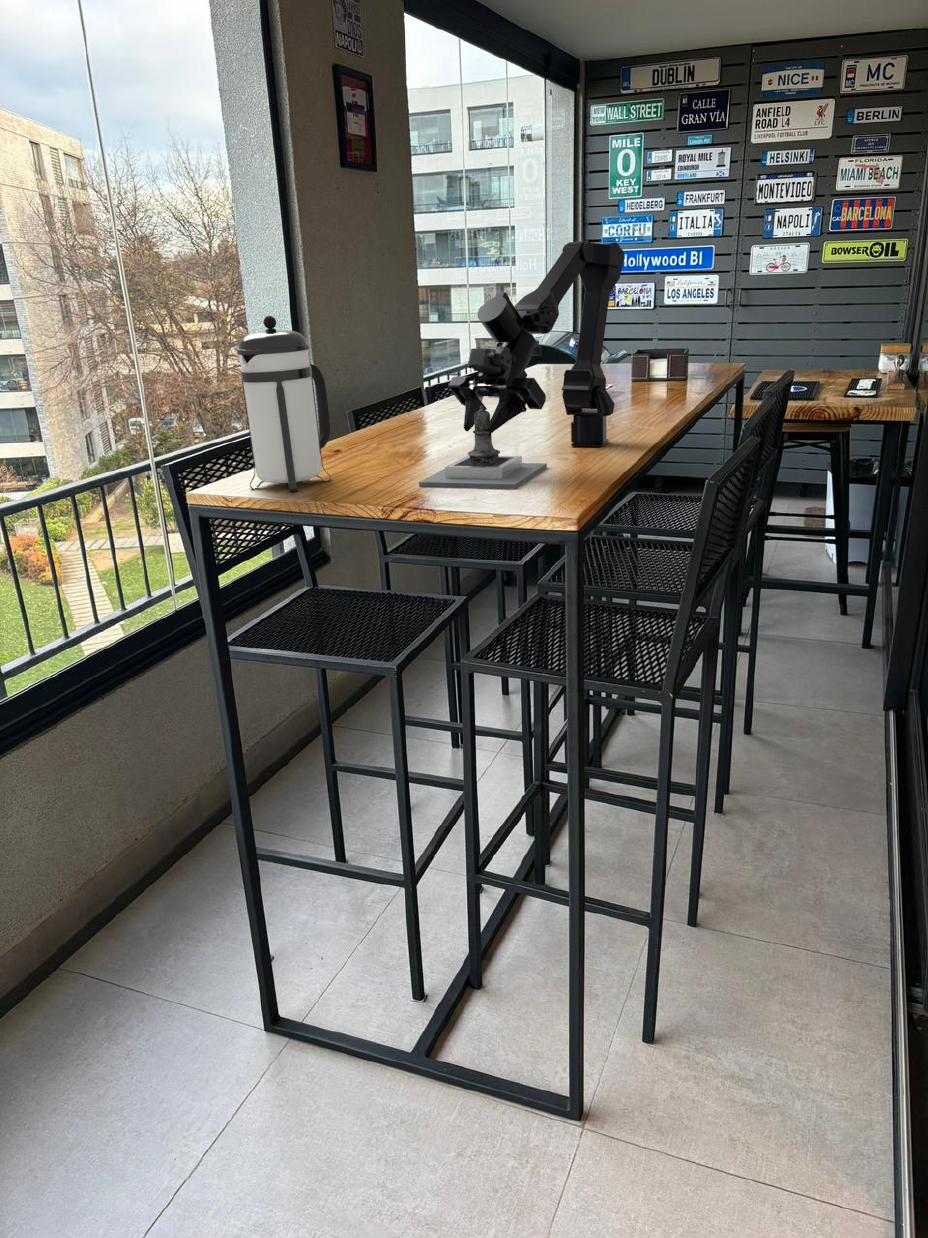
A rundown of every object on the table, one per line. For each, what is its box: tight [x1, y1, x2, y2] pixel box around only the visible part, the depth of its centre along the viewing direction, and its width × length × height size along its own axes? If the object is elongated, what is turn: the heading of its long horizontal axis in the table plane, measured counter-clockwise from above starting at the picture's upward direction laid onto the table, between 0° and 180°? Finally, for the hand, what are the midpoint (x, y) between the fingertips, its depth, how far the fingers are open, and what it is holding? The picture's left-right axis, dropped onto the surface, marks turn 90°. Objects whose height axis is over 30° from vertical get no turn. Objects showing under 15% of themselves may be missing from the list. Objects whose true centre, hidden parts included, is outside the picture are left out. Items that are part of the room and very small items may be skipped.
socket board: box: [418, 462, 548, 490], centre depth 165 cm, size 18×18×1 cm
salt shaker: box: [467, 405, 501, 466], centre depth 162 cm, size 6×6×12 cm
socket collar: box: [444, 455, 523, 479], centre depth 164 cm, size 11×11×2 cm
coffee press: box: [235, 315, 331, 493], centre depth 165 cm, size 17×16×30 cm
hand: (477, 430), depth 161 cm, fingers open, 5 cm apart
